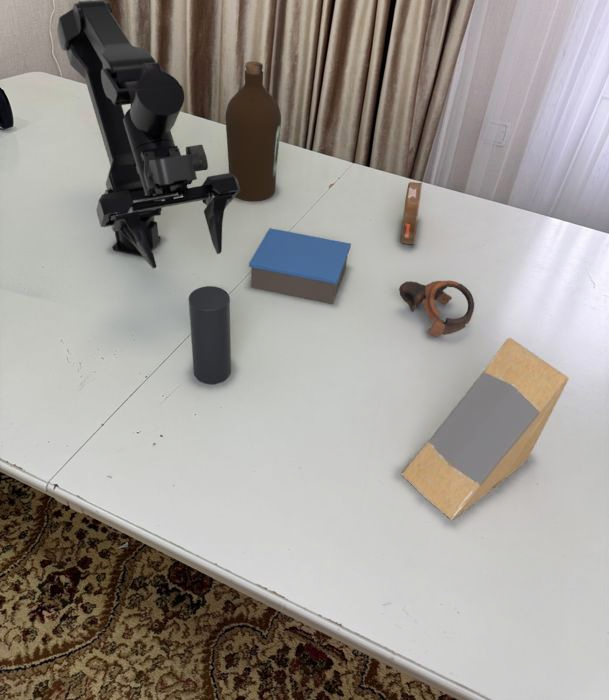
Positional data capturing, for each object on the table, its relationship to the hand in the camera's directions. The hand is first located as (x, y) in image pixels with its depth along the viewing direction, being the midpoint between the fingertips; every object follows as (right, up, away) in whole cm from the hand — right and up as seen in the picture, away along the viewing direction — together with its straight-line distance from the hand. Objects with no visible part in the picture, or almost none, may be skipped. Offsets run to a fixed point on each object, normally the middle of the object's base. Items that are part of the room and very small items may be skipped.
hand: (187, 260), depth 84 cm
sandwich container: (+36, -27, -6) cm, 45 cm away
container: (+15, 0, +22) cm, 27 cm away
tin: (+36, +11, +37) cm, 52 cm away
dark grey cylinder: (+3, -15, +4) cm, 16 cm away
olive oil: (+5, +21, +45) cm, 50 cm away
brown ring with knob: (+36, -7, +16) cm, 41 cm away
